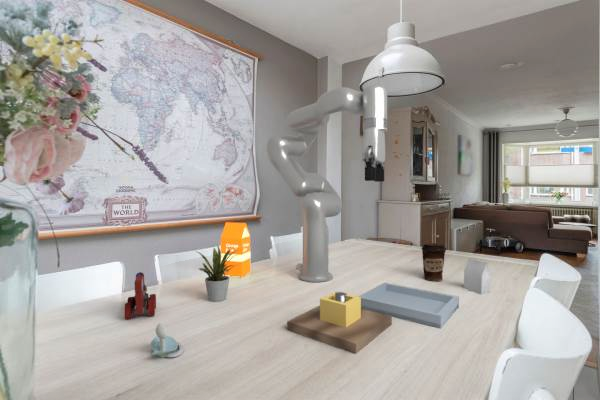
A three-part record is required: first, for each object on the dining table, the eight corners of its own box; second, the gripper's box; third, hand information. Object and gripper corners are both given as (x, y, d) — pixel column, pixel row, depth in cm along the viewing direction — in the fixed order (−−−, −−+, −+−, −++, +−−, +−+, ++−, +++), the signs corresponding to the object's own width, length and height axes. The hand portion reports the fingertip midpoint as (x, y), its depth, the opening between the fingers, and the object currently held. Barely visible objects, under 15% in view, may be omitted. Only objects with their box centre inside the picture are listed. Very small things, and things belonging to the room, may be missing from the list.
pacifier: (180, 342, 71) (149, 348, 68) (181, 314, 71) (150, 318, 68) (186, 358, 64) (153, 365, 61) (187, 326, 64) (154, 332, 61)
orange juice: (241, 277, 122) (241, 224, 121) (220, 276, 124) (220, 223, 124) (250, 272, 129) (250, 222, 129) (230, 271, 132) (230, 221, 131)
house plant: (254, 299, 98) (254, 244, 97) (214, 311, 88) (214, 251, 87) (227, 289, 108) (226, 239, 107) (187, 299, 97) (187, 244, 97)
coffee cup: (448, 283, 115) (449, 246, 114) (423, 282, 116) (423, 245, 116) (442, 276, 123) (443, 242, 123) (419, 275, 125) (419, 241, 125)
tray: (357, 307, 91) (357, 297, 91) (384, 291, 105) (384, 282, 105) (440, 328, 77) (440, 315, 77) (458, 307, 92) (458, 296, 92)
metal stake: (332, 319, 78) (333, 294, 78) (338, 315, 80) (338, 291, 80) (342, 321, 76) (342, 296, 76) (348, 318, 78) (348, 293, 78)
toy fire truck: (156, 304, 94) (156, 268, 94) (154, 320, 82) (153, 279, 82) (129, 307, 91) (128, 270, 91) (123, 324, 80) (122, 281, 79)
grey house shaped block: (481, 294, 103) (482, 262, 103) (463, 288, 109) (464, 258, 109) (490, 293, 104) (490, 261, 104) (472, 287, 111) (472, 257, 110)
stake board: (287, 329, 77) (287, 321, 77) (329, 307, 91) (329, 300, 91) (355, 353, 66) (356, 343, 65) (391, 324, 80) (391, 316, 80)
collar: (319, 319, 77) (320, 298, 77) (335, 311, 83) (335, 291, 83) (345, 327, 73) (346, 305, 73) (360, 317, 79) (360, 297, 79)
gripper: (371, 131, 112) (371, 182, 113) (353, 122, 97) (354, 180, 98) (393, 129, 109) (393, 181, 109) (379, 119, 94) (379, 180, 94)
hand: (374, 181), depth 103 cm, fingers open, 9 cm apart
